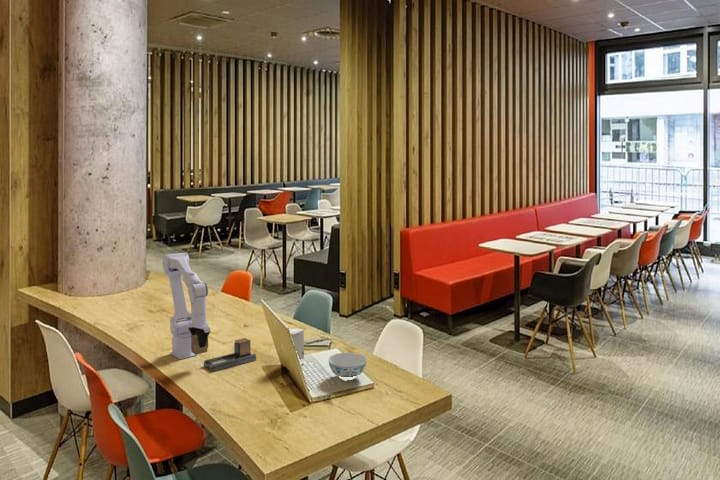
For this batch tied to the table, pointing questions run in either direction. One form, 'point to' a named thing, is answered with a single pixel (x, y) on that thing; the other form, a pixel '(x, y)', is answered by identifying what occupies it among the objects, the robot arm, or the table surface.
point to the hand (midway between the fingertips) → (199, 345)
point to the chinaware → (347, 364)
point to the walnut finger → (197, 345)
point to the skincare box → (298, 341)
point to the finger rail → (232, 357)
